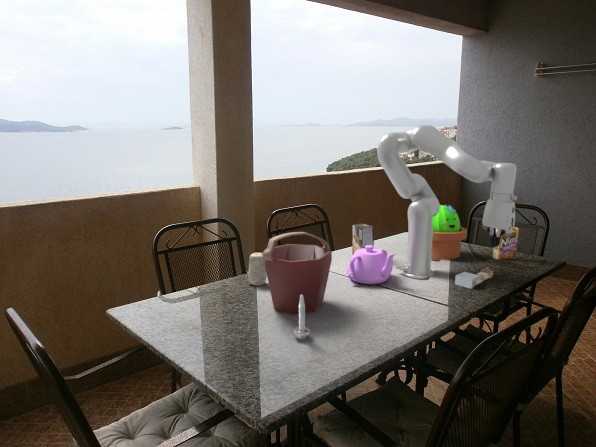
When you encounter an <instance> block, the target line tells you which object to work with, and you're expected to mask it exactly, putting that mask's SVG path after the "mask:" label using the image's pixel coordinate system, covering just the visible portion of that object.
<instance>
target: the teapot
mask: <svg viewBox="0 0 596 447" xmlns="http://www.w3.org/2000/svg"><path fill="white" fill-rule="evenodd" d="M373 248H374V249H373ZM396 255H397V254H396V253H389V254H388V251H387V250H386V249H384V248H379V249H377V248H375V246H371V245H367V246H365V248H363V249H358V250H357V251H356V252H355V253H354V254H353V256H351V258H350V259H349V261H348V264H347V267H346V268H347V269H346V274H347V278H348V279H350V280H352V281H353V282H355V283H358V284H359V283H360V284H364V285H378V284H382V283H385V282H386V281H387V280H388V279H389V278H390V277H391V274H392V271H393V258H394V256H396Z"/></svg>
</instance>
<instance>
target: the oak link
mask: <svg viewBox="0 0 596 447" xmlns="http://www.w3.org/2000/svg"><path fill="white" fill-rule="evenodd" d="M490 269H491V268H490V267H487V266H486V267H484V269H481V270H480V272H478V273H475V274H476V275H480V276H481V277H480V279H478V280H475V281H474V285H473V288H475V286H477V285H479V284H481V283H483V282H484V281H486V280H488V279H492V278H494V277H493V276H494V273H493V272H494V271H493V270H490Z"/></svg>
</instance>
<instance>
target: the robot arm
mask: <svg viewBox="0 0 596 447" xmlns="http://www.w3.org/2000/svg"><path fill="white" fill-rule="evenodd" d="M416 150H423V151H425V152H426V153H428V154H430V155H431V156H433V157H435V158H437V159H438V160H439V161H440V162H442V163H444V164H445V165H446V166H447V167H448V168H450V169H451V170H453V171H454V172H455V173H457V174H458V175H460V176H462V177H463V178H465V179H467V180H468V181H470V182H473V183H476V184H481V183H482V184H483V183H485V182H488V181H489V182H490V181H491V186H490V187H491V188H490V194H489V199H488V200H487V201H486V204H485V206H484V211H483V216H482V226H481V228H482V229H484V230H486V231H487V232H488V233H489V236H490V241H489V243H490V247H491V248H492V247H493V248H494V247H497V246H499V245H500V240H501V236H502V235H504V234H507V233H512V228H513V227H515V221H516V204H515V202H514V201H516V200H518V196H516V195H515V194H514V191H515V183H516V178H517V170H518V168H517V165H516V164H515V163H512V162H511V163H509V162H494V161H489V160H478V159H477V158H475V157H473V156H472V155H470V154H468V153H467V152H466V151H464V150H463V149H462V148H461V147H460V145H459V144H458V143H457V142H456V140H453V139H451V138H449V137H448V136H446V135H444V134H442V133H441V132H439V130H438V128H436V127H435V126H433V125H430V124H421V125H418V126H417V127H415V128H414V129H410V130H406V131H399V132H397V131H396V132H395V131H394V132H389V133H386V134H385V135H384V136H383V137H382V138H380V140H379V143H378V145H377V152H376V153H377V154H376V155H377V159H378V162H379V164H380V165H381V167H382V169H383V171H384V173H386V175H387V177H388V179H389V181H390V183H391V184H392V186H393V187H394V189H395V190H396V192H397V194H398V195H399V196H400V197H402V199H410V200H411V201H412V202H411V203H410V204H409V206H408V208H407V222H408V223H407V224H408V231H407V232H408V235H407V255H406V256H407V258H406V261H405V262H404V263H403V264H394V266H395V267H394V268H395V270H399V271H402V274H403V275H404V277H407V278H412V279H419V280H422V279H423V280H425V279H430V278H431V277H432V276H433V275H434V274H435V271H433V270H432V260H431V258H432V240H433V224H432V218H433V217H435V216H436V215H437V214H438V212H439V210H440V205H441V204H440V202H439V199H438V198H437V196H436V194H435V193H434V191H433V190H432V188H431V186H430V185H429V184H428V182H427V180H426V179H425V178H424V177H423V176H422V175H421V174H419V173H412V172H411V170H410V169H409V167H408V165H407V164H406V162H405V161H404V160H403V158H402V157H401V156H400V154H404V153H409V152H411V151H416ZM496 228H497V229H498V231H497V234H496Z"/></svg>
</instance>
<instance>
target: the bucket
mask: <svg viewBox="0 0 596 447" xmlns="http://www.w3.org/2000/svg"><path fill="white" fill-rule="evenodd" d="M293 236H309V237H312V238H313V239H316V240H319V242H320V243H321V244H322V245H323V247H321V246H319V245H317V244H300V243H299V244H296V243H286V244H283V245H277V246H276V243H277V242H278V241H281V240H284V239H286V238H290V237H293ZM268 240H269V241H268V243H267V247H266V248H265V249H264V251H263V252H261V253H262V255H263V257H264V259H265V268H266V273H267V278H266V279H267V283H268V287H269V290H270V295H271V300H272V305H273V309H274V311H277V312H281V313H283V314H284V313H285V314H287V315H291V316H297V315H299V301H300V295H301V294H302V295H303V297H304V303H305V314H312V313H316V312H317V310H319V308H320V307H321V306H323V303H324V298H325V295H326V294H325V293H326V289H327V284H328V280H329V274H330V269H331V265H332V262H333V261H332V260H333V259H332V258H333V257H332V254H333V253H332V251H331V250H330V245H329V244H328V242H327V241H326V240H325V239H324V238H321V237H319V236H317V235H314V234H311V233H309V232H305V231H294V232H287V233H282V234H279V235H275V236H273V237H271V238H269V239H268Z"/></svg>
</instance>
